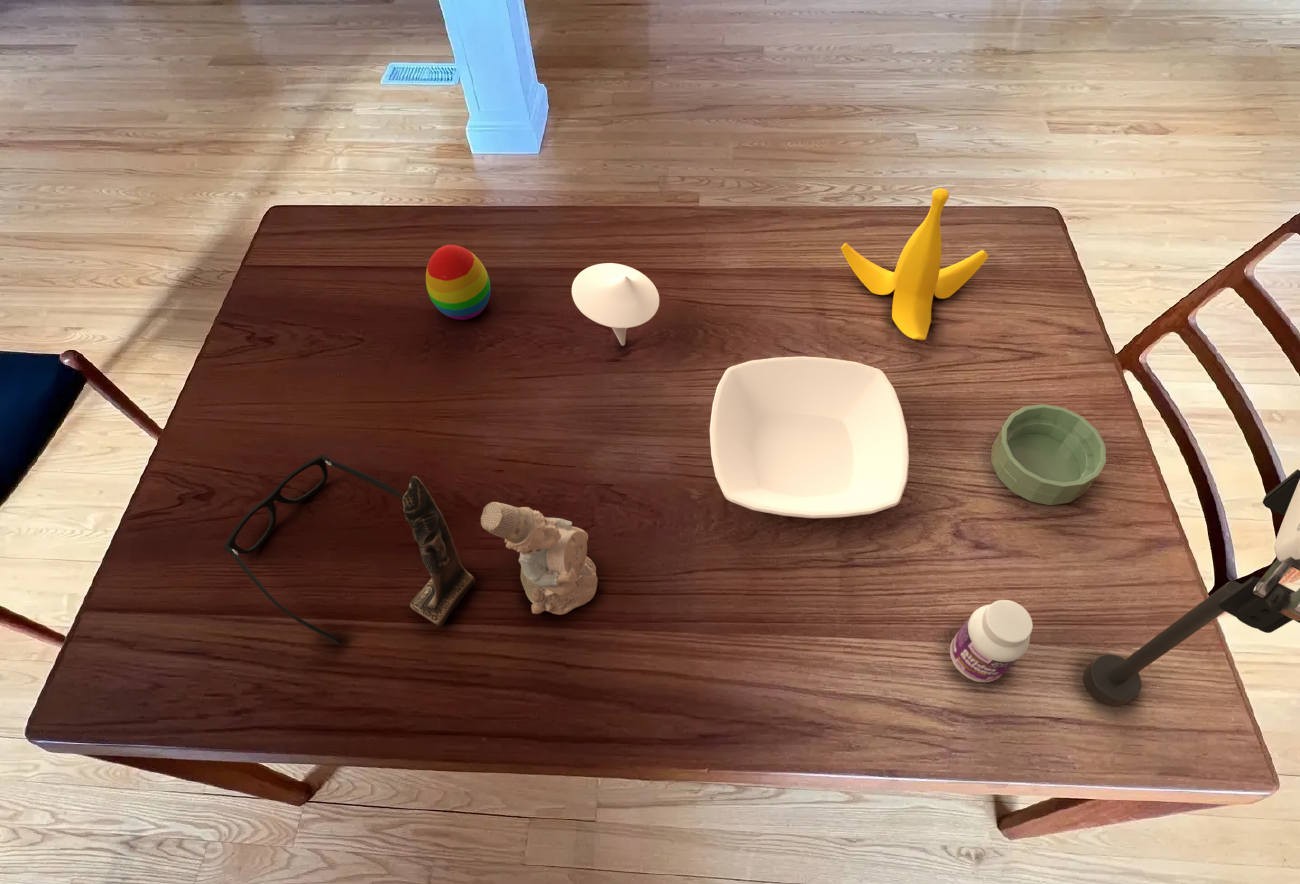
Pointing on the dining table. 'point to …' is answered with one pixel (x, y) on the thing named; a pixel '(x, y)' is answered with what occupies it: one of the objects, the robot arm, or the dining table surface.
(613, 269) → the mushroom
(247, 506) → the dining table surface
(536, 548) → the figurine
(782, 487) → the bowl
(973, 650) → the pill bottle
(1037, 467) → the green round dish
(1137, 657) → the disc-footed rod
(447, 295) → the decorative egg
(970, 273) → the banana peel
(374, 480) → the glasses
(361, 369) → the dining table surface
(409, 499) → the statue
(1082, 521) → the dining table surface
